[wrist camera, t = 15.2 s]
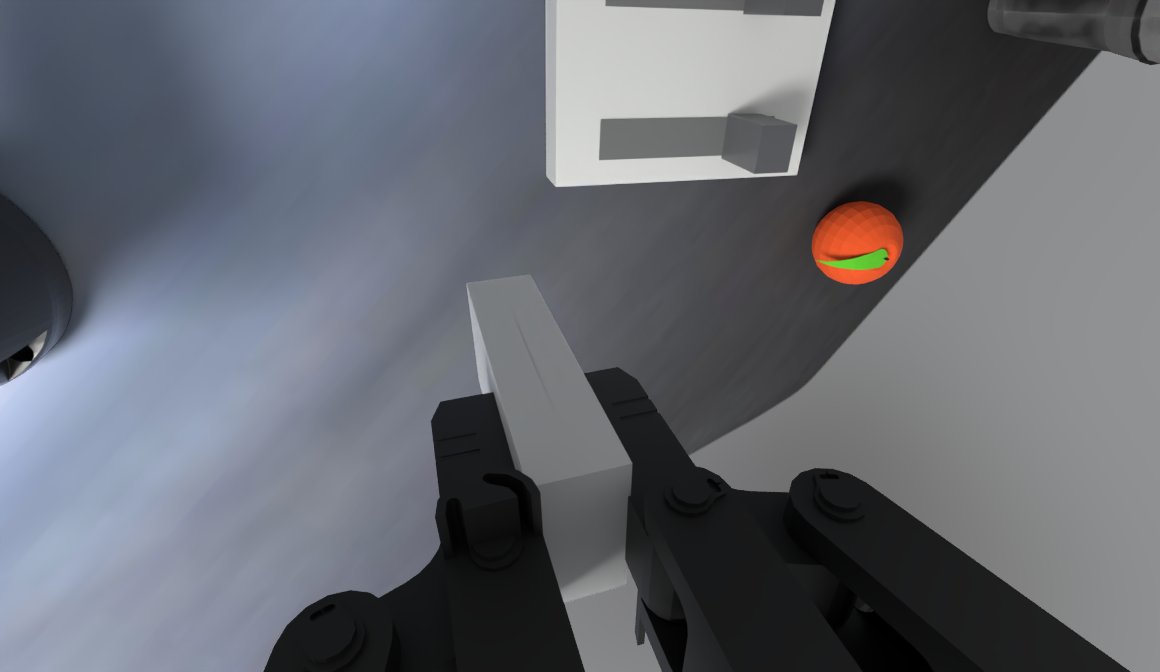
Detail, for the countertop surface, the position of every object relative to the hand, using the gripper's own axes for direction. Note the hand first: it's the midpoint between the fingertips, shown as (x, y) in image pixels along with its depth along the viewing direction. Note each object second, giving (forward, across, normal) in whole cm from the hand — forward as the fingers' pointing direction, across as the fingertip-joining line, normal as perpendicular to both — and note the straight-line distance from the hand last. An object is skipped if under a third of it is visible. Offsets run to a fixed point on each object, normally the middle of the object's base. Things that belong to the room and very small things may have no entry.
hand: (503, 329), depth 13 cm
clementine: (+28, +33, -11) cm, 44 cm away
